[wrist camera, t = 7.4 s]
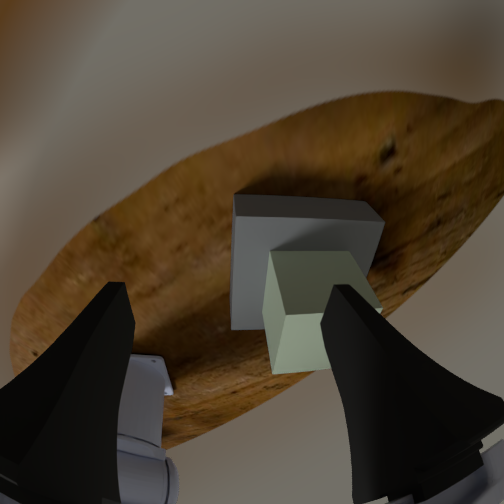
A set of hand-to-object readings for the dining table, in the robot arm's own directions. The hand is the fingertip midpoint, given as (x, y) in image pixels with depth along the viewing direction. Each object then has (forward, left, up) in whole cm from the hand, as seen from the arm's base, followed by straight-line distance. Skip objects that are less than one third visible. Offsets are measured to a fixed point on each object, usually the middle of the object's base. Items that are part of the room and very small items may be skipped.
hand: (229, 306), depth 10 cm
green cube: (+5, -5, -6) cm, 9 cm away
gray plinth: (+5, -4, -9) cm, 12 cm away
